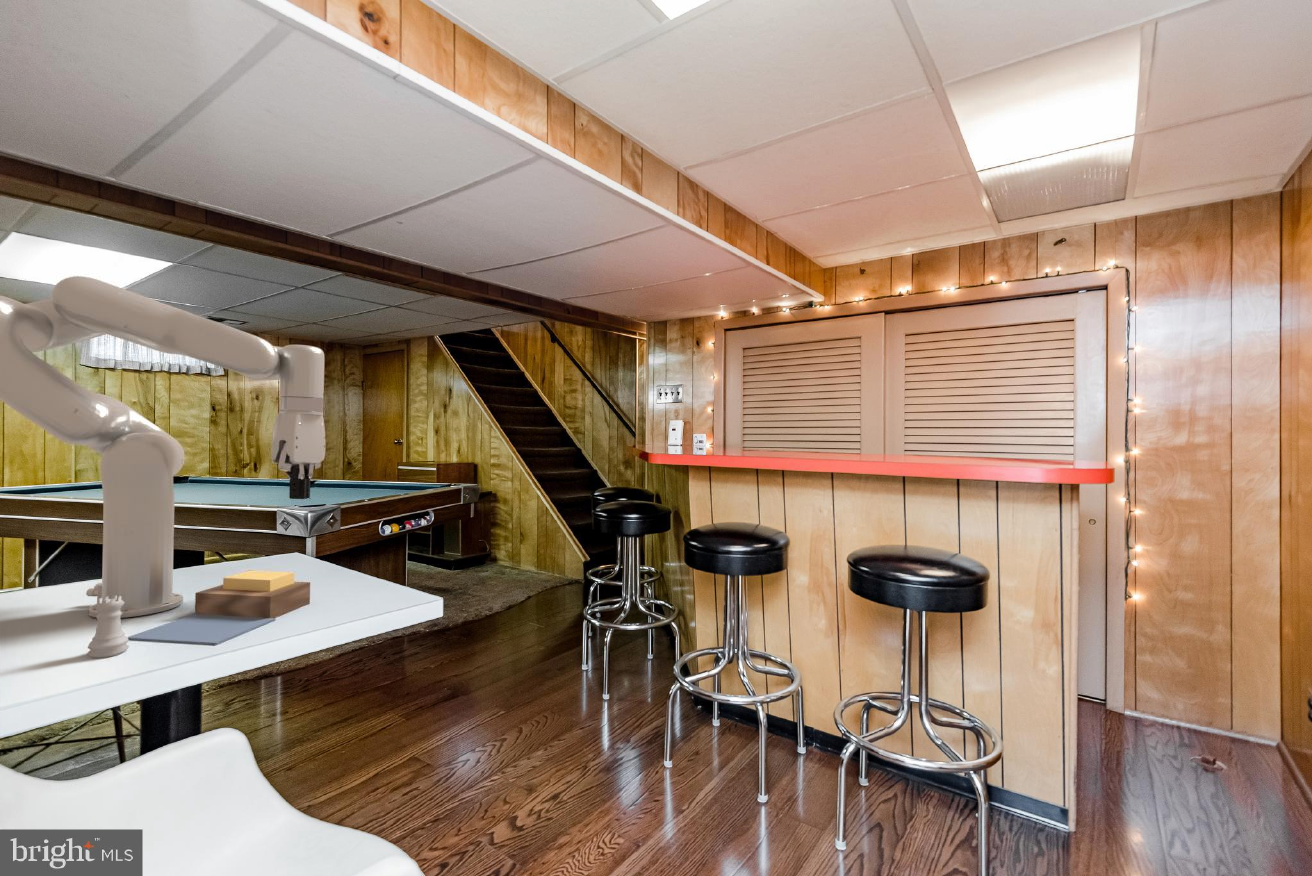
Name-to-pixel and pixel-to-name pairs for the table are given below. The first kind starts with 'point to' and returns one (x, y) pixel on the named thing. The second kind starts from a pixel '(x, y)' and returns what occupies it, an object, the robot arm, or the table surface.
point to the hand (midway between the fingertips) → (299, 498)
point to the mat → (202, 629)
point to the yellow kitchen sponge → (258, 580)
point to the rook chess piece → (108, 629)
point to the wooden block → (252, 601)
